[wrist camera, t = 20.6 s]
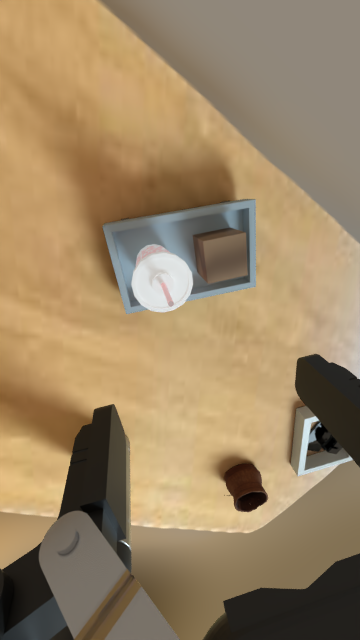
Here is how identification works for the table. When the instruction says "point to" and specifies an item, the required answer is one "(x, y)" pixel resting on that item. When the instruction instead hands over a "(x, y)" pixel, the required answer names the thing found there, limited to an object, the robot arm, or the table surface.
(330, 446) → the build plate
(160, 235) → the light blue tray
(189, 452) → the table surface
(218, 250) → the walnut block
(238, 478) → the ceramic pot
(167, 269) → the beverage cup
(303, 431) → the light grey tray
